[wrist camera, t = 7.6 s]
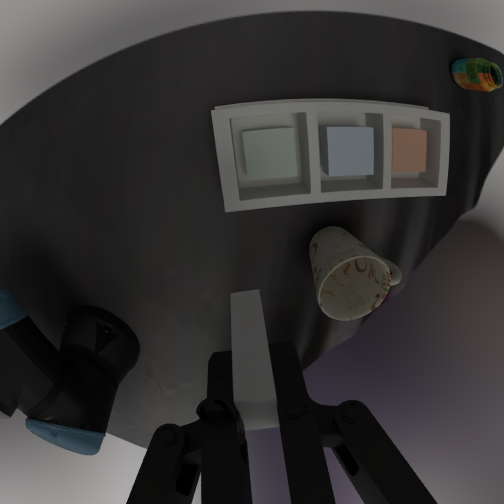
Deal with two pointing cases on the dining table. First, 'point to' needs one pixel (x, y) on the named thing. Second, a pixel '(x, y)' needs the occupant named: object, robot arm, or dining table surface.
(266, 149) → the key
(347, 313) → the mug
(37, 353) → the robot arm
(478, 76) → the jar
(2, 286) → the dining table surface
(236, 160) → the three-slot tray
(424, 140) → the key
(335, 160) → the key
